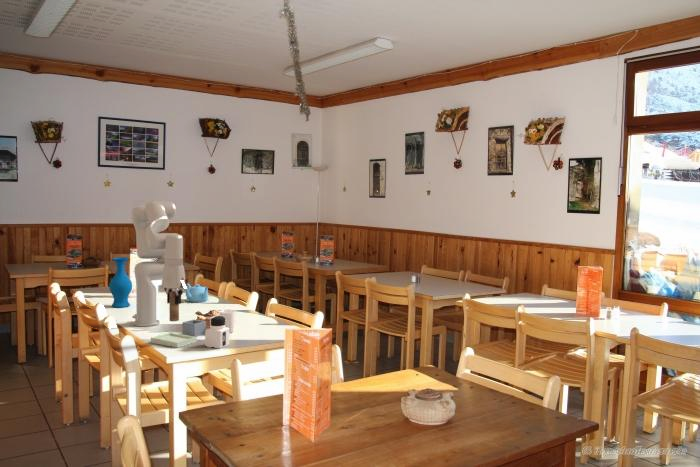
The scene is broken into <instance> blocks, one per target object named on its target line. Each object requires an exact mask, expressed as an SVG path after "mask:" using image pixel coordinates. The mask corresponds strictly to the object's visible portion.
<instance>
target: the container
mask: <svg viewBox="0 0 700 467" xmlns="http://www.w3.org/2000/svg"><path fill="white" fill-rule="evenodd" d="M204 335H205V338H204V339H205V340H204V341H205V342H204V344H205V345H204V347H205V346H207V347H206V348H211V347H215V348H214V349H219V348H221V349H223V348H225V347H227V346H229V345H230V333H229V328H227V327H225V317H223V316H219V315H215V316H211V317H210V318H209V328H206V330H205V334H204ZM222 347H223V348H222Z"/></svg>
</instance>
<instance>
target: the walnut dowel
mask: <svg viewBox="0 0 700 467" xmlns="http://www.w3.org/2000/svg"><path fill="white" fill-rule="evenodd" d="M175 295H176V291H175V290H173V291H170V303H169V322H179V320H180V304H177V305H176V304H175Z"/></svg>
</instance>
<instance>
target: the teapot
mask: <svg viewBox="0 0 700 467" xmlns="http://www.w3.org/2000/svg"><path fill="white" fill-rule="evenodd" d="M186 285H187V287H186V288H187V289H186V290H185V297H186V300H187V301H188V302H190V303H204V302H207V301H208V299H209V291H208V290H209V286H201V285H200V284H199V283H198V284H197V283H196V284H195V285H194V286H191V284H190V283H188V282H187V283H186Z"/></svg>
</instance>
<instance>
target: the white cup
mask: <svg viewBox="0 0 700 467" xmlns="http://www.w3.org/2000/svg"><path fill="white" fill-rule="evenodd" d="M236 312H237V311H236V310H234V309H222V310H219V312H218V316H223V317H225V327H227V328H229V334H230V333H231V334H232V333H234V332H235V326H236Z"/></svg>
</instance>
